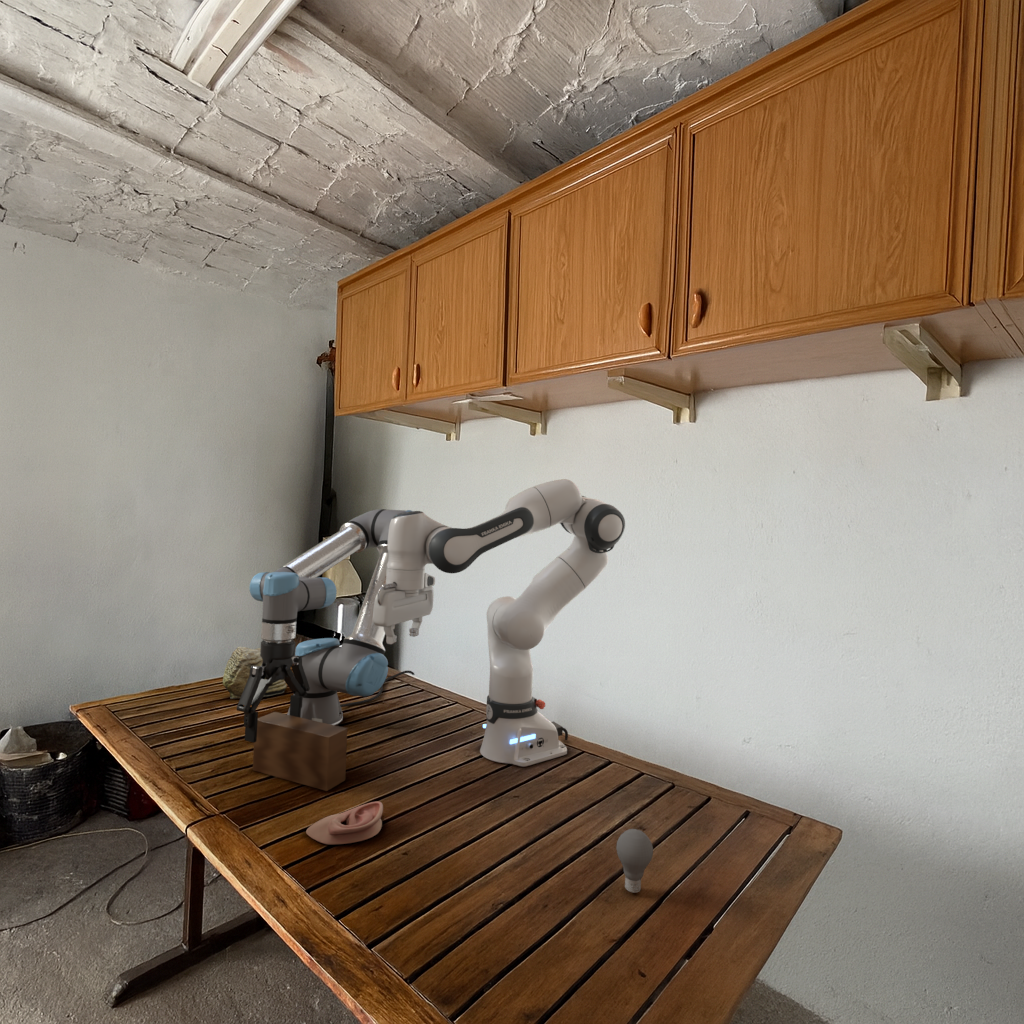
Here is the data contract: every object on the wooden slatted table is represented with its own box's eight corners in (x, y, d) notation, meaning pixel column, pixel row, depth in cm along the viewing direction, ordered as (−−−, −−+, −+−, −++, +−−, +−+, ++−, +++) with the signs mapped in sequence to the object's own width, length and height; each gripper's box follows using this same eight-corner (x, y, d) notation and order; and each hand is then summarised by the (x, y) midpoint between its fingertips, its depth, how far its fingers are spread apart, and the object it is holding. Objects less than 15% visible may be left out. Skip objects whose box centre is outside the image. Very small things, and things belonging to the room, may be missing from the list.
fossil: (218, 695, 195) (220, 647, 195) (278, 685, 208) (279, 640, 207) (228, 703, 189) (230, 653, 188) (289, 692, 201) (290, 645, 201)
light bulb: (610, 879, 108) (613, 822, 108) (644, 879, 109) (647, 822, 109) (619, 902, 102) (622, 840, 102) (655, 901, 103) (658, 840, 103)
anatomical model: (298, 818, 116) (328, 791, 128) (297, 839, 116) (327, 810, 128) (365, 829, 114) (390, 800, 125) (364, 851, 114) (389, 820, 125)
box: (252, 770, 145) (254, 719, 145) (272, 760, 151) (274, 711, 150) (326, 791, 136) (329, 737, 136) (345, 780, 142) (347, 728, 142)
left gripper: (248, 651, 133) (242, 752, 133) (327, 633, 156) (322, 719, 156) (222, 647, 136) (216, 745, 136) (303, 629, 159) (299, 714, 159)
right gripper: (391, 586, 137) (388, 650, 137) (438, 577, 155) (436, 633, 156) (366, 583, 139) (364, 646, 139) (416, 575, 158) (414, 630, 158)
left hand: (273, 732), depth 146 cm, fingers open, 13 cm apart
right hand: (402, 639), depth 148 cm, fingers open, 8 cm apart
